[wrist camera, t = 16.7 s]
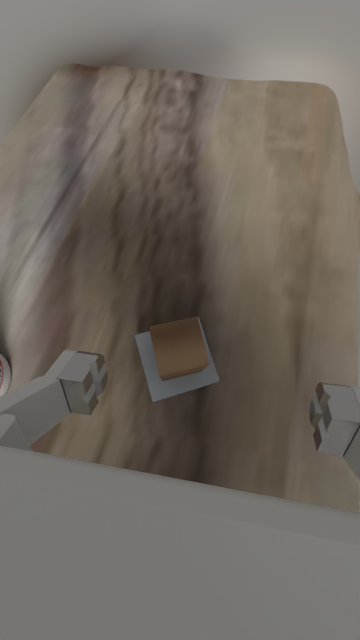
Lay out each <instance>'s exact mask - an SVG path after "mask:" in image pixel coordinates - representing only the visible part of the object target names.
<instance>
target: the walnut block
mask: <svg viewBox="0 0 360 640" xmlns="http://www.w3.org/2000/svg"><path fill="white" fill-rule="evenodd" d="M149 330H150V335H151V340H152V344H153V349H154V354H155V359H156V363H157V368H158V373H159V377H160V378H161V379H162V381H166V380H170V379H174V378H178V377H183V376H187V375H191V374H195V373H200V372H201V371H203V370H204V369H205V368H206V367H207V366H208V365H210V364H209V360H208V356H207V352H206V348H205V344H204V340H203V336H202V332H201V328H200V324H199V321H198V317H197V316H195V317H190V318H186V319H181V320H177V321H172V322H168V323H163V324H158V325H154V326H149Z"/></svg>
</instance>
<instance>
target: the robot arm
mask: <svg viewBox="0 0 360 640" xmlns="http://www.w3.org/2000/svg"><path fill="white" fill-rule="evenodd" d="M104 363H105V359H104V356H103V355H102V354H96V353H90V352H83V351H75V350H69V349H67V350H65V351H63V353H62V354H61V355H60V356H59V358H58V359H57V360H56V361H55V363H54V364H53V365H52V366H51V368H50V369H49V370H48V371H47V373H46V374H45V375H44V377H38V378H36V379H34V380H32V381H30V382H28V383H26V384H24V385H22V386H20V387H18V388H16V389H14V390H12V391H10V392H8V393H6V394H4V395H2V396H0V640H360V513H358V512H352V511H347V510H342V509H336V508H331V507H326V506H320V505H315V504H310V503H305V502H299V501H294V500H289V499H283V498H278V497H273V496H267V495H262V494H257V493H251V492H246V491H241V490H235V489H230V488H225V487H219V486H214V485H209V484H203V483H198V482H193V481H187V480H182V479H177V478H172V477H166V476H161V475H156V474H150V473H145V472H140V471H134V470H129V469H124V468H119V467H113V466H108V465H103V464H97V463H92V462H87V461H81V460H76V459H71V458H66V457H60V456H55V455H50V454H44V453H39V452H34V451H32V450H31V448H30V446H29V445H31V444H32V443H33V442H35V441H36V440H37V439H38V438H40V437H41V436H42V435H44V434H45V433H46V432H48V431H49V430H50V429H51V428H53V427H54V426H55V425H57V424H58V423H59V422H60V421H62V420H63V419H64V418H66V417H67V416H68V415H69V414H70V413H78V414H85V415H91V414H92V412H93V411H94V409H95V407H96V405H97V403H98V399H97V396H99V395H100V394H102V393H103V392H104V390H105V387H106V384H107V370H106V369H105V368H104V367H103V365H104ZM316 394H317V396H316V397H314V398H312V401H311V404H310V421H311V425H312V426H313V427H314V428H315V429H316V430H315V432H314V435H313V436H314V441H315V445H316V450H317V452H319V453H324V454H329V455H335V456H340V457H343V459H344V460H345V462H346V463H347V464H348V465H349V467H350V468H351V469H352V470H353V472H354V473H355V474H356V476H357V477H358V478H359V479H360V387H355V386H346V385H337V384H329V383H321V382H320V383H319V384H318V385H317V388H316Z"/></svg>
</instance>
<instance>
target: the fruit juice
mask: <svg viewBox="0 0 360 640" xmlns="http://www.w3.org/2000/svg"><path fill="white" fill-rule="evenodd" d="M10 380H11V371H10V366H9V364H8V362H7V360H6V359H5V357H4V356H3V355H2V354H1V353H0V396H2V395H4V394H6V392H7V390H8V387H9V385H10Z"/></svg>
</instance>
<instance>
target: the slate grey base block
mask: <svg viewBox="0 0 360 640" xmlns="http://www.w3.org/2000/svg"><path fill="white" fill-rule="evenodd" d="M198 321H199V324H200V328H201V332H202V336H203V340H204V344H205V348H206V352H207V356H208V360H209V364H210V365H208V366H207V367H206V368H205V369H204V370H203V371H201V372H200V373H195V374H191V375H187V376H183V377H178V378H174V379H170V380H166V381H162V379H161V378H160V377H159V373H158V368H157V363H156V359H155V354H154V349H153V344H152V340H151V335H150V331H147V332H144V333H141V334H137V335H135V339H136V343H137V346H138V350H139V354H140V357H141V361H142V365H143V368H144V372H145V376H146V380H147V383H148V387H149V391H150V394H151V398H152V402H156V401H159V400H162V399H165V398H169V397H172V396H175V395H178V394H181V393H185V392H188V391H191V390H194V389H197V388H201V387H204V386H207V385H210V384H213V383H216V382H219V381H220V380H219V377H218V374H217V371H216V368H215V365H214V362H213V359H212V355H211V352H210V349H209V346H208V343H207V340H206V337H205V334H204V331H203V328H202V325H201V322H200V319H199V317H198Z"/></svg>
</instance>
